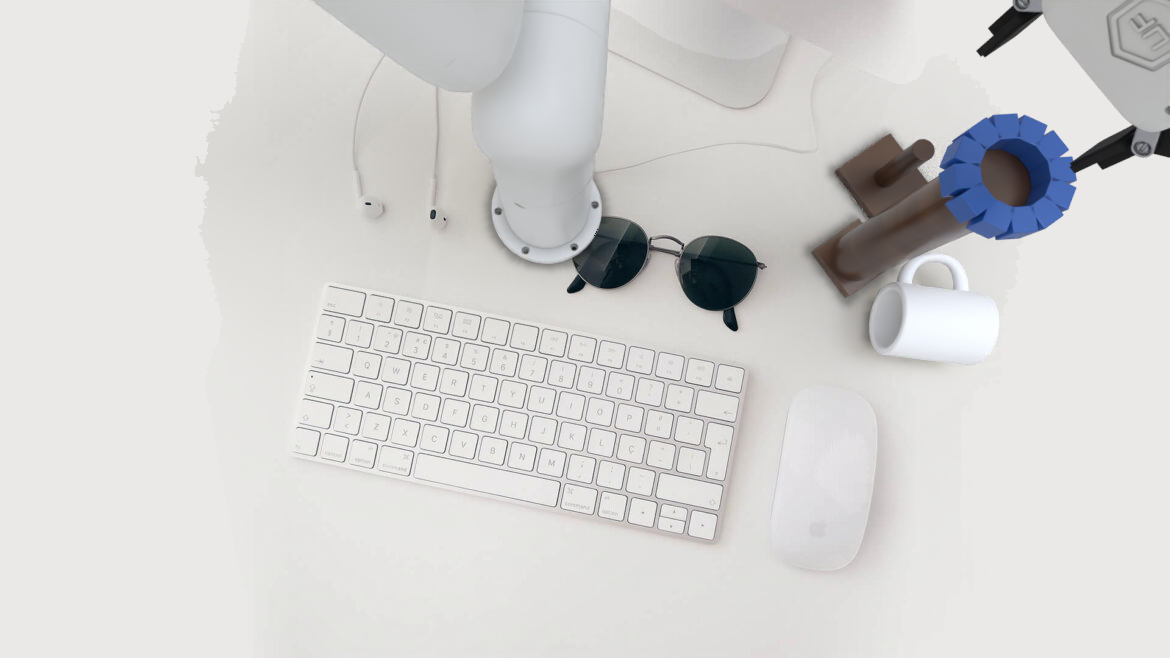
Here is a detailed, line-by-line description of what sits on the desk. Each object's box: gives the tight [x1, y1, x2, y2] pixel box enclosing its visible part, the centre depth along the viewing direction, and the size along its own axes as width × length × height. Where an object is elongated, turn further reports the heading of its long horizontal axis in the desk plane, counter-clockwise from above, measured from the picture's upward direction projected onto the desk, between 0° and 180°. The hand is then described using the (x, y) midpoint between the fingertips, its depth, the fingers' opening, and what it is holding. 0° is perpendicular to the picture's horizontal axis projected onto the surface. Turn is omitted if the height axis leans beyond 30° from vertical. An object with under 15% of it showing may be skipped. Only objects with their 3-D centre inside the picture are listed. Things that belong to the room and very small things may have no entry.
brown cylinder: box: [811, 149, 1032, 299], centre depth 61 cm, size 7×7×25 cm
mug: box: [868, 252, 1000, 367], centre depth 69 cm, size 12×10×8 cm
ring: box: [937, 112, 1078, 241], centre depth 47 cm, size 9×9×2 cm
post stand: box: [834, 133, 936, 219], centre depth 70 cm, size 8×8×9 cm
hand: (1040, 100), depth 42 cm, fingers open, 9 cm apart
